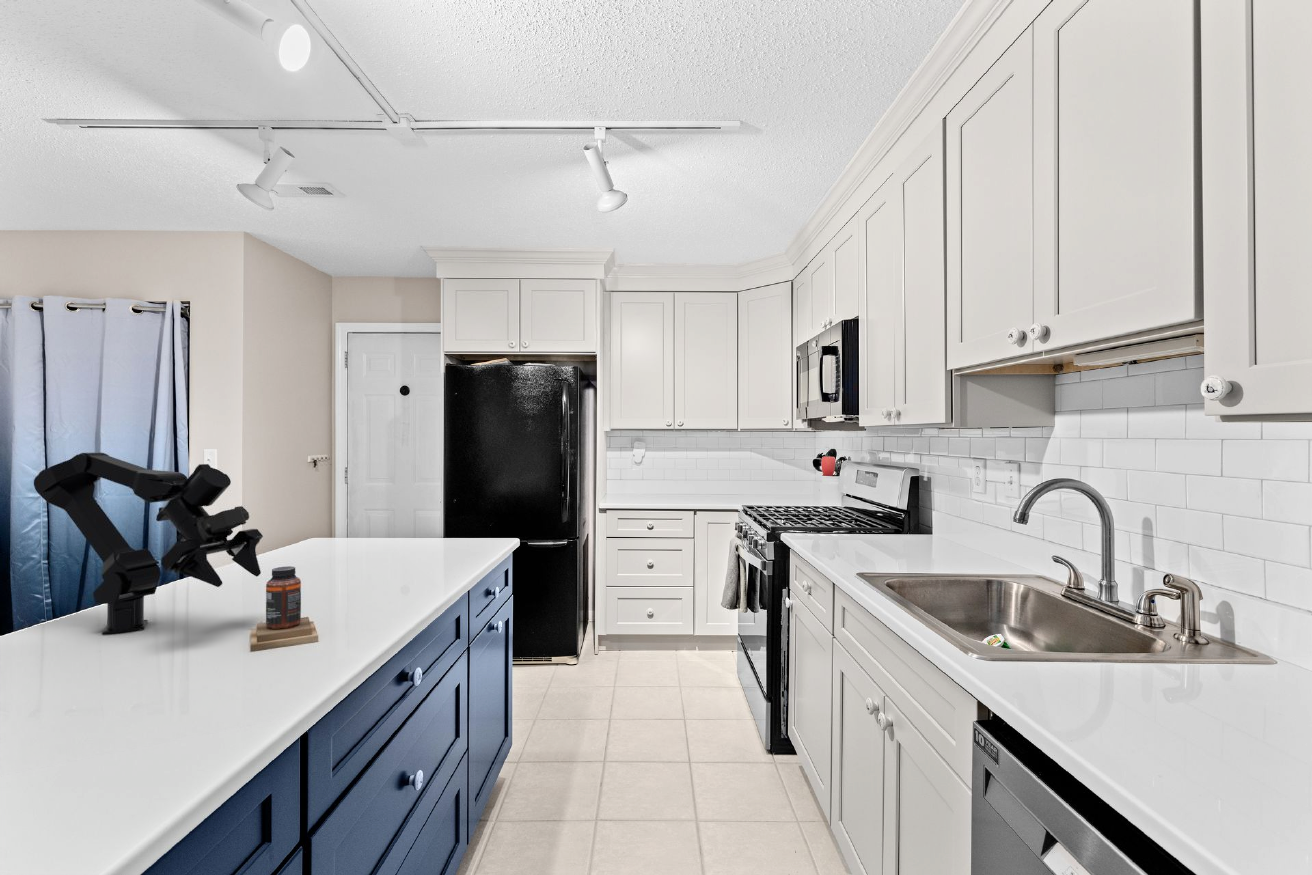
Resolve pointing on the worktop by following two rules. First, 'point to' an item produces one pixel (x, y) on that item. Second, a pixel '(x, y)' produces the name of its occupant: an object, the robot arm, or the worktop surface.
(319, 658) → the worktop surface
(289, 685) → the worktop surface
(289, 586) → the supplement bottle
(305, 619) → the wooden stand
